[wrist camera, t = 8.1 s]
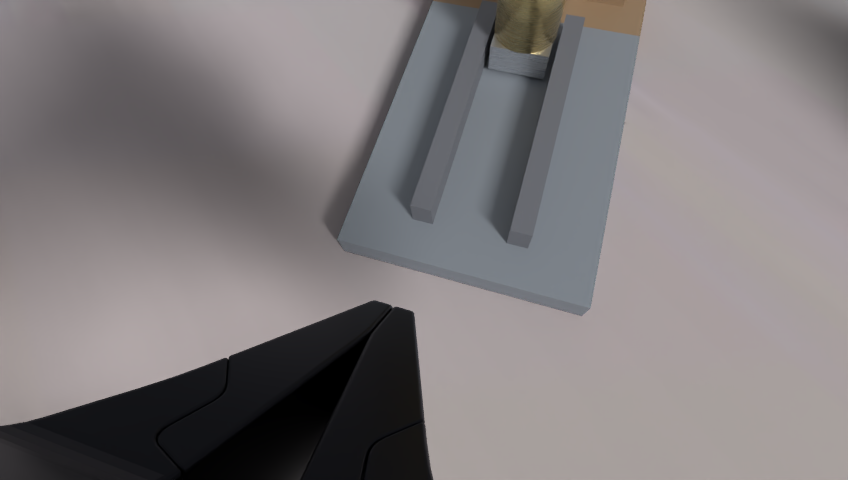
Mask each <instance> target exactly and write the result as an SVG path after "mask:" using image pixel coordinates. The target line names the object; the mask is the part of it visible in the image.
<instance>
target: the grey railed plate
mask: <svg viewBox="0 0 848 480" xmlns="http://www.w3.org/2000/svg"><path fill="white" fill-rule="evenodd" d="M645 5H646V0H566V2H565V6H564V9H563V13H562V17H561V21H560V25H559V29H558V33H557V36H556V39H555V40H554V42H553V45H552V49H551V53H550V56H549V60H548V64H547V68H546V71H545V75H544V79H539V78H534V77H529V76H524V75H519V74H513V73H508V72H503V71H498V70H493V69H488V67H489V55H490V46H491V43H492V40H493V37H494V33H495V20H496V10H497V0H433V2H432V4H431V7H430V9H429V12H428V14H427V17H426V19H425V22H424V24H423V27H422V29H421V32H420V34H419V37H418V39H417V42H416V44H415V47H414V49H413V52H412V54H411V57H410V59H409V62H408V64H407V67H406V69H405V72H404V74H403V77H402V79H401V82H400V84H399V87H398V89H397V92H396V94H395V97H394V99H393V102H392V104H391V107H390V109H389V112H388V114H387V117H386V119H385V122H384V124H383V127H382V129H381V131H380V134H379V136H378V139H377V141H376V144H375V146H374V149H373V151H372V154H371V156H370V159H369V161H368V164H367V166H366V169H365V171H364V174H363V176H362V179H361V181H360V184H359V186H358V189H357V191H356V194H355V196H354V199H353V201H352V204H351V206H350V209H349V211H348V214H347V216H346V219H345V221H344V224H343V226H342V229H341V231H340V234H339V236H338V239H337V240H338V242H339V243H340V245H341V246H342V248H343V250H344V251H347V252H351V253H355V254H358V255H362V256H366V257H369V258H373V259H377V260H380V261H384V262H387V263H391V264H395V265H398V266H402V267H406V268H409V269H413V270H417V271H420V272H424V273H427V274H431V275H435V276H438V277H442V278H446V279H449V280H453V281H457V282H460V283H464V284H468V285H471V286H475V287H478V288H482V289H486V290H489V291H493V292H497V293H500V294H504V295H508V296H511V297H515V298H518V299H522V300H526V301H529V302H533V303H537V304H540V305H544V306H548V307H551V308H555V309H558V310H562V311H566V312H569V313H573V314H577V315H580V316H582V315H583V314H584V313H586V312H587V311H588V310H589V309H590V308H591V302H592V297H593V291H594V286H595V280H596V275H597V269H598V264H599V258H600V253H601V247H602V242H603V236H604V231H605V225H606V220H607V214H608V209H609V203H610V198H611V192H612V187H613V181H614V176H615V170H616V165H617V159H618V154H619V148H620V143H621V137H622V132H623V126H624V121H625V115H626V110H627V104H628V99H629V93H630V88H631V82H632V77H633V71H634V66H635V60H636V55H637V49H638V44H639V38H640V33H641V27H642V22H643V16H644V11H645Z"/></svg>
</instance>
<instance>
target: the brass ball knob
mask: <svg viewBox="0 0 848 480" xmlns="http://www.w3.org/2000/svg"><path fill="white" fill-rule="evenodd" d="M565 2H566V0H497V10H496V20H495V33H494V37H493V40H492V43H491V46H490V55H489V67H488V69H493V70H498V71H503V72H508V73H513V74H519V75H524V76H529V77H534V78H539V79H544V75H545V71H546V68H547V64H548V60H549V56H550V53H551V49H552V45H553V42H554V40H555V39H556V36H557V33H558V29H559V25H560V21H561V17H562V13H563V9H564V6H565Z"/></svg>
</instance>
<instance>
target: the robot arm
mask: <svg viewBox="0 0 848 480" xmlns="http://www.w3.org/2000/svg"><path fill="white" fill-rule="evenodd" d="M424 423H425V421H424V410H423V400H422V390H421V379H420V369H419V359H418V348H417V338H416V328H415V317H414V313H413V312H412V311H410V310H406V309H403V308H399V307H394V308H393V307H392V306H391V305H389V304H385V303H382V302H378V301H370V302H368V303H365V304H363V305H360V306H358V307H355V308H352V309H350V310H347V311H345V312H342V313H339V314H337V315H334V316H332V317H329V318H327V319H324V320H321V321H319V322H316V323H314V324H311V325H309V326H306V327H303V328H301V329H298V330H296V331H293V332H291V333H288V334H285V335H283V336H280V337H278V338H275V339H273V340H270V341H267V342H265V343H262V344H260V345H257V346H255V347H252V348H249V349H247V350H244V351H242V352H239V353H236V354H234V355H231V356H230V357H229V359H227V358H223V359H221V360H218V361H216V362H213V363H210V364H208V365H205V366H202V367H200V368H197V369H194V370H191V371H189V372H186V373H183V374H180V375H178V376H175V377H172V378H169V379H166V380H163V381H160V382H157V383H153V384H150V385H147V386H144V387H141V388H138V389H135V390H131V391H128V392H125V393H122V394H118V395H115V396H112V397H108V398H105V399H102V400H99V401H95V402H92V403H89V404H85V405H82V406H79V407H76V408H72V409H69V410H66V411H62V412H59V413H56V414H53V415H49V416H46V417H42V418H39V419H35V420H31V421H28V422H23V423H17V424H12V425H5V426H0V480H433V476H432V472H431V467H430V460H429V453H428V446H427V438H426V428H425V424H424Z"/></svg>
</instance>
